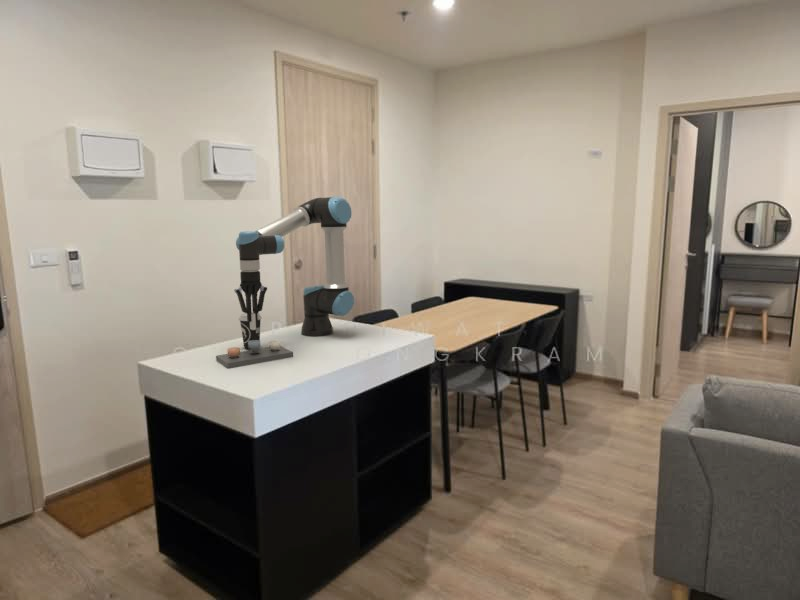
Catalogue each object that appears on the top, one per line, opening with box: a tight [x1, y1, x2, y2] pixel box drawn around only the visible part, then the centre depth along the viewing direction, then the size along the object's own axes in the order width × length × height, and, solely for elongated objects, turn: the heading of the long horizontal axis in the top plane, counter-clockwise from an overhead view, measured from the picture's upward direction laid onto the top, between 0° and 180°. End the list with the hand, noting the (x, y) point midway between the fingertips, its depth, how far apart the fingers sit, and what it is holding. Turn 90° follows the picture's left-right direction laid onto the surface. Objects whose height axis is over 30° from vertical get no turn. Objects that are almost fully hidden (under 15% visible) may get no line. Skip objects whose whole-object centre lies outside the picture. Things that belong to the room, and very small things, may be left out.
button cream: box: [267, 340, 281, 352], centre depth 224 cm, size 5×5×4 cm
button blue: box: [248, 339, 262, 352], centre depth 219 cm, size 5×5×4 cm
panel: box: [215, 345, 294, 369], centre depth 220 cm, size 27×14×2 cm, turn 126°
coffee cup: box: [238, 311, 262, 351], centre depth 236 cm, size 10×10×15 cm
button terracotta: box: [226, 346, 241, 359], centre depth 215 cm, size 5×5×4 cm
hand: (252, 329), depth 218 cm, fingers closed
